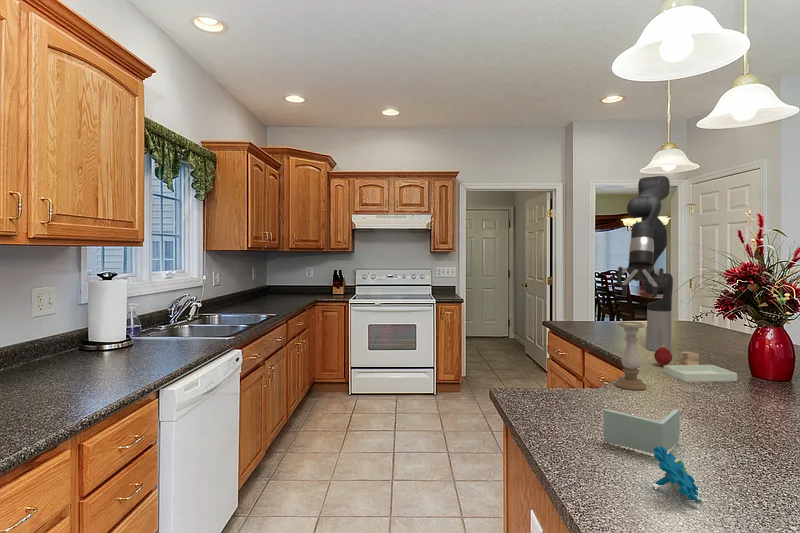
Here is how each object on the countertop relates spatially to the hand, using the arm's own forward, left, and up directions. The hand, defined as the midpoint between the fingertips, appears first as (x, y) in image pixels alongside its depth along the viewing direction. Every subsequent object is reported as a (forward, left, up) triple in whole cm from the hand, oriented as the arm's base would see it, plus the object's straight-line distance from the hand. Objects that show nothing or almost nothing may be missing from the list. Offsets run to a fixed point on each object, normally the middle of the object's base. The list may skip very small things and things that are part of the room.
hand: (638, 297), depth 156 cm
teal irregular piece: (+74, -33, -27) cm, 85 cm away
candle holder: (+11, -8, -27) cm, 31 cm away
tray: (+1, +21, -27) cm, 34 cm away
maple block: (-13, +27, -27) cm, 40 cm away
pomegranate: (-13, +17, -27) cm, 35 cm away
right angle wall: (+53, -28, -27) cm, 66 cm away
